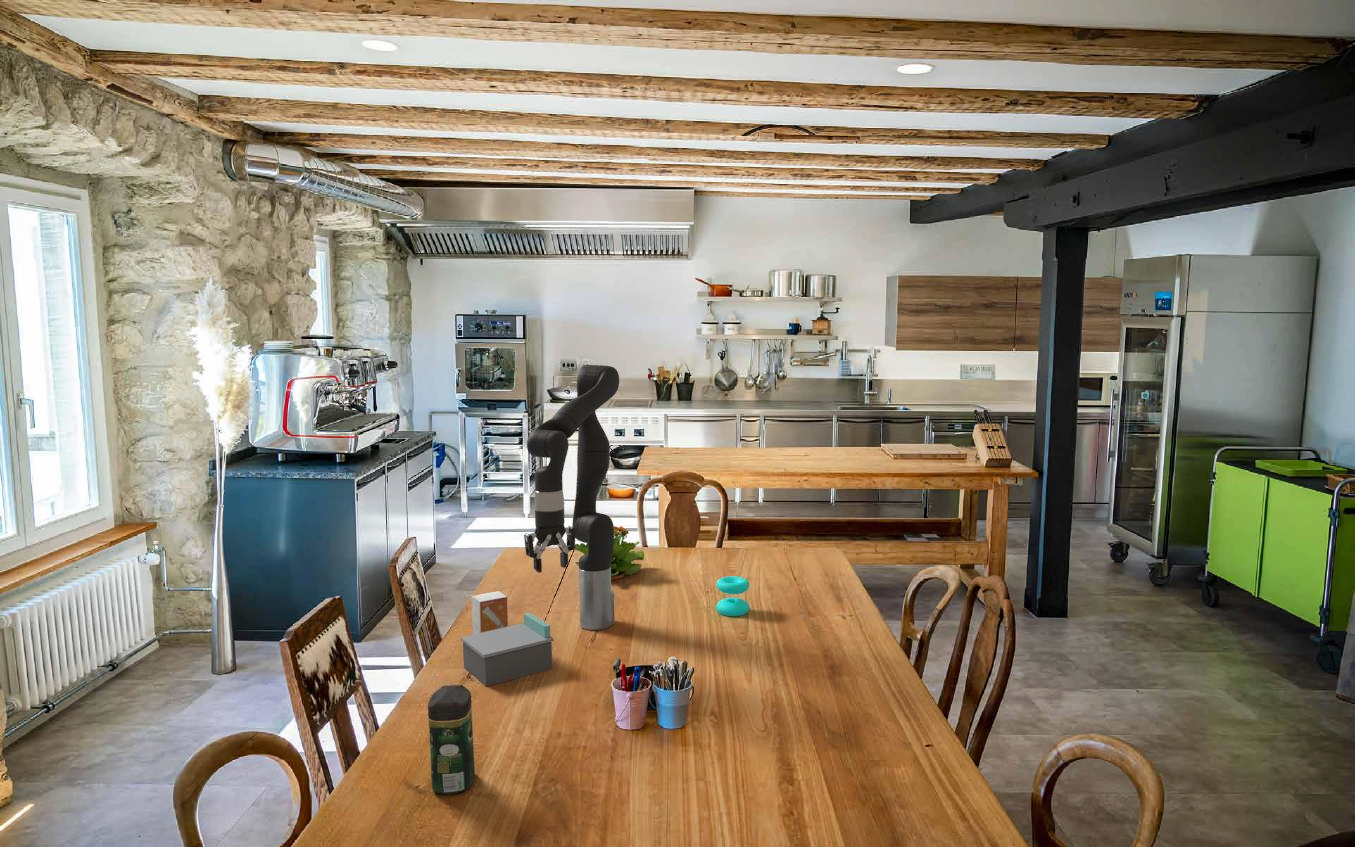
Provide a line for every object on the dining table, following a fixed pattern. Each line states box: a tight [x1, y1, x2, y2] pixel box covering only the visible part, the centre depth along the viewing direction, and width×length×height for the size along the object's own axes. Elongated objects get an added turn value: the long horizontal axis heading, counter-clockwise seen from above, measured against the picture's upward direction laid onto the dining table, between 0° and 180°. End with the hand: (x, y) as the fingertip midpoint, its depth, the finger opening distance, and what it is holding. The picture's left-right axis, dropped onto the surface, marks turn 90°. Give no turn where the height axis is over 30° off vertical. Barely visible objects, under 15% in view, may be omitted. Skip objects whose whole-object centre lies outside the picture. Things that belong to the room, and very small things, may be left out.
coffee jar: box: [427, 684, 476, 795], centre depth 168 cm, size 10×8×19 cm
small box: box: [471, 590, 509, 635], centre depth 242 cm, size 8×6×13 cm
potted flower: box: [574, 525, 645, 581], centre depth 300 cm, size 25×24×18 cm
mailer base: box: [462, 641, 553, 687], centre depth 224 cm, size 18×14×7 cm
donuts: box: [715, 575, 751, 617], centre depth 265 cm, size 10×10×10 cm
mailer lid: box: [460, 612, 554, 658], centre depth 223 cm, size 19×15×4 cm
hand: (551, 569), depth 229 cm, fingers open, 6 cm apart
